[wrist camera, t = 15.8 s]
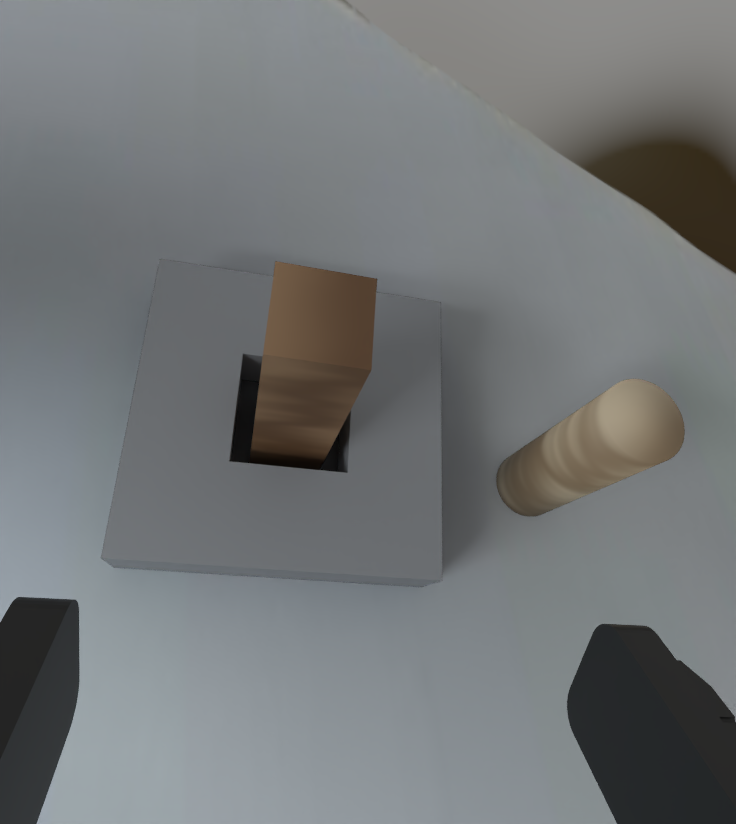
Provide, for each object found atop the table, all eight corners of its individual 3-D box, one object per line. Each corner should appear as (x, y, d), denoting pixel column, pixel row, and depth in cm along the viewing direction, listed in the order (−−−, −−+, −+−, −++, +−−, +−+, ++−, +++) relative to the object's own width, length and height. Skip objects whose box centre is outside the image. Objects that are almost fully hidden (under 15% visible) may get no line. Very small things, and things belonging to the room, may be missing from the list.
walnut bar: (249, 463, 30) (262, 354, 19) (257, 398, 31) (275, 261, 20) (318, 471, 30) (371, 370, 19) (324, 407, 32) (377, 278, 21)
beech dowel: (483, 480, 32) (587, 412, 23) (524, 441, 33) (636, 362, 24) (529, 529, 32) (652, 481, 22) (568, 488, 33) (700, 426, 24)
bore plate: (113, 567, 27) (100, 557, 24) (165, 292, 32) (159, 258, 29) (422, 587, 29) (442, 580, 27) (423, 329, 34) (440, 301, 32)
